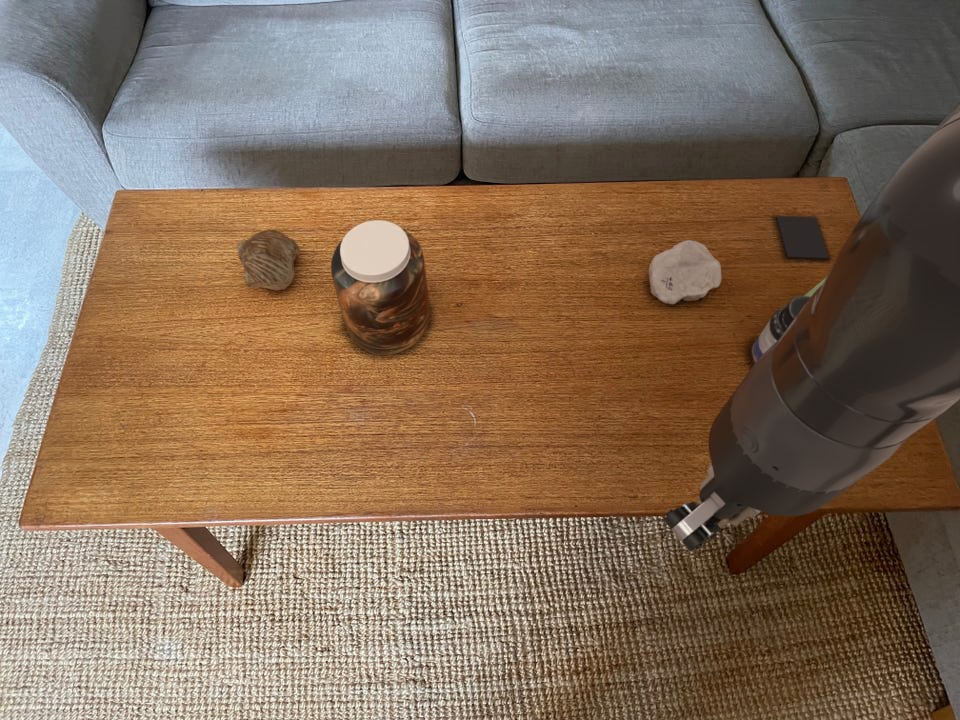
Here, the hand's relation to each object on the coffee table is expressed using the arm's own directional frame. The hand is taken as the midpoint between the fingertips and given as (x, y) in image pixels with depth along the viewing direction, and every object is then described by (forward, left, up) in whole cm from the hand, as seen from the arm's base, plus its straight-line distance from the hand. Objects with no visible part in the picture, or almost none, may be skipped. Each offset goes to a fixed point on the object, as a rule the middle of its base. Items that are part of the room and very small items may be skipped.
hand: (705, 521), depth 49 cm
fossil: (+25, -36, -26) cm, 51 cm away
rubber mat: (+19, -57, -26) cm, 66 cm away
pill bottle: (+9, -36, -26) cm, 46 cm away
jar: (+46, 0, -26) cm, 53 cm away
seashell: (+63, +8, -26) cm, 69 cm away
